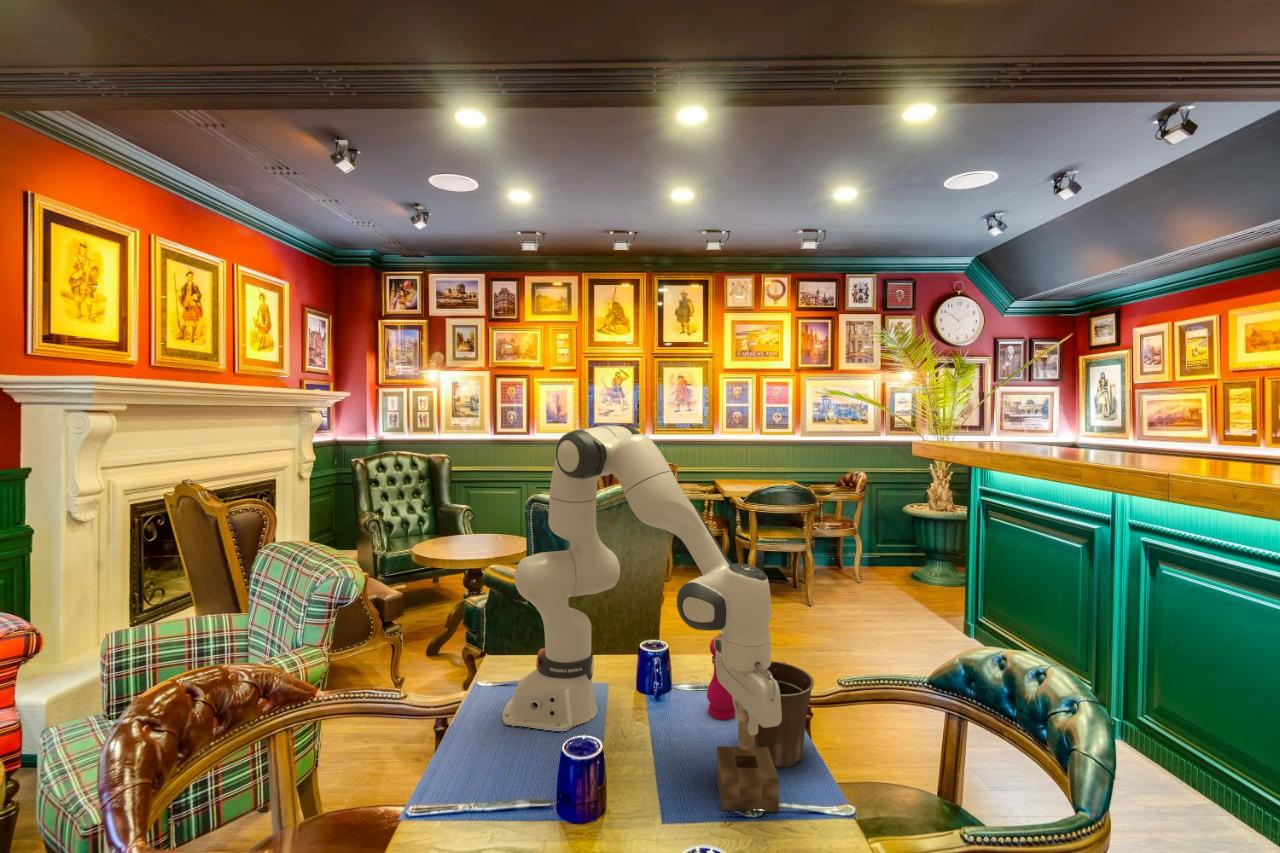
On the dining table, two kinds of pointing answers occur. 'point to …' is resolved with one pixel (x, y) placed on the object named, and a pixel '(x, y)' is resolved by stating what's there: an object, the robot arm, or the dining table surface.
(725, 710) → the pepper mill
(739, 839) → the dining table surface
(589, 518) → the robot arm
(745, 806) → the bore block
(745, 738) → the pin
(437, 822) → the dining table surface
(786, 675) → the plant pot
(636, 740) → the dining table surface
